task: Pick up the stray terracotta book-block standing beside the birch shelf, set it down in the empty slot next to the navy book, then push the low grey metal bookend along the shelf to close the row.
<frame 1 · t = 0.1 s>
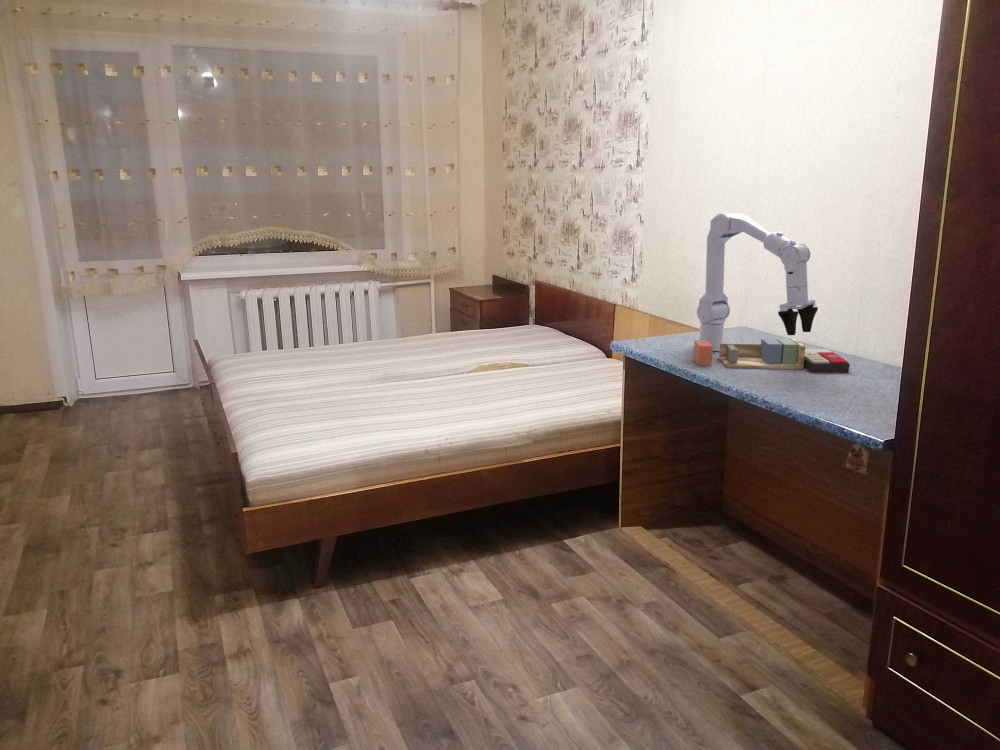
hand: (799, 333, 220), 11 cm above the table, tool pointing down, fingers open, 7 cm apart
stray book: (702, 362, 230), on the table
book b: (769, 360, 228), point 1 cm above the table, touching shelf
book a: (785, 360, 228), point 1 cm above the table, touching shelf
bookend: (731, 353, 229), point 3 cm above the table, slide at 0.0 cm
shelf: (759, 363, 228), on the table
calculator: (819, 368, 225), on the table
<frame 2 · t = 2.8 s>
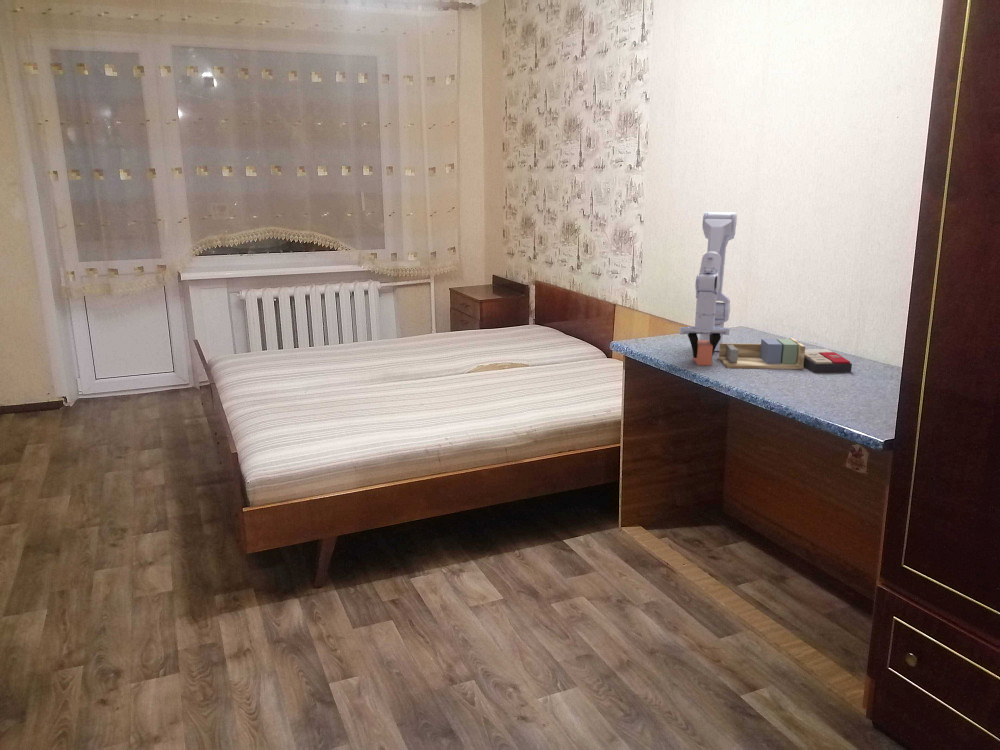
hand: (702, 357, 230), 1 cm above the table, tool pointing down, fingers closed on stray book, 4 cm apart
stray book: (702, 362, 230), on the table, touching gripper
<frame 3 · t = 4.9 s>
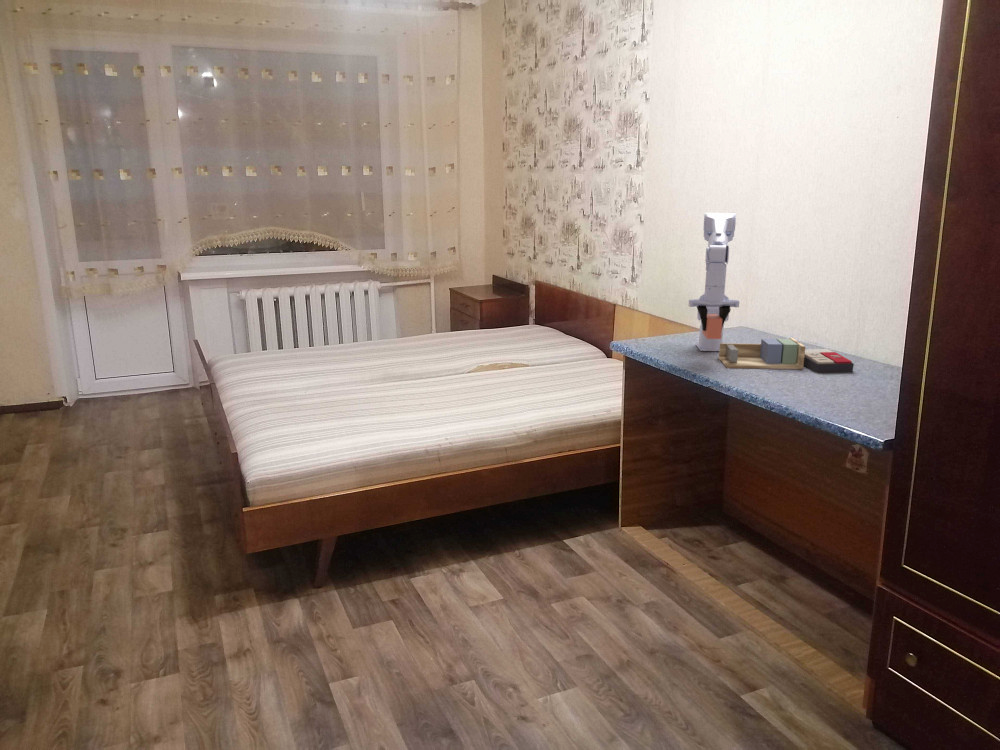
hand: (711, 330, 228), 10 cm above the table, tool pointing down, fingers closed on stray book, 4 cm apart
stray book: (711, 336, 228), point 8 cm above the table, touching gripper
when the fingers open (4 cm above the table, at t = 7.3 s): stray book drops 2 cm, resting on shelf.
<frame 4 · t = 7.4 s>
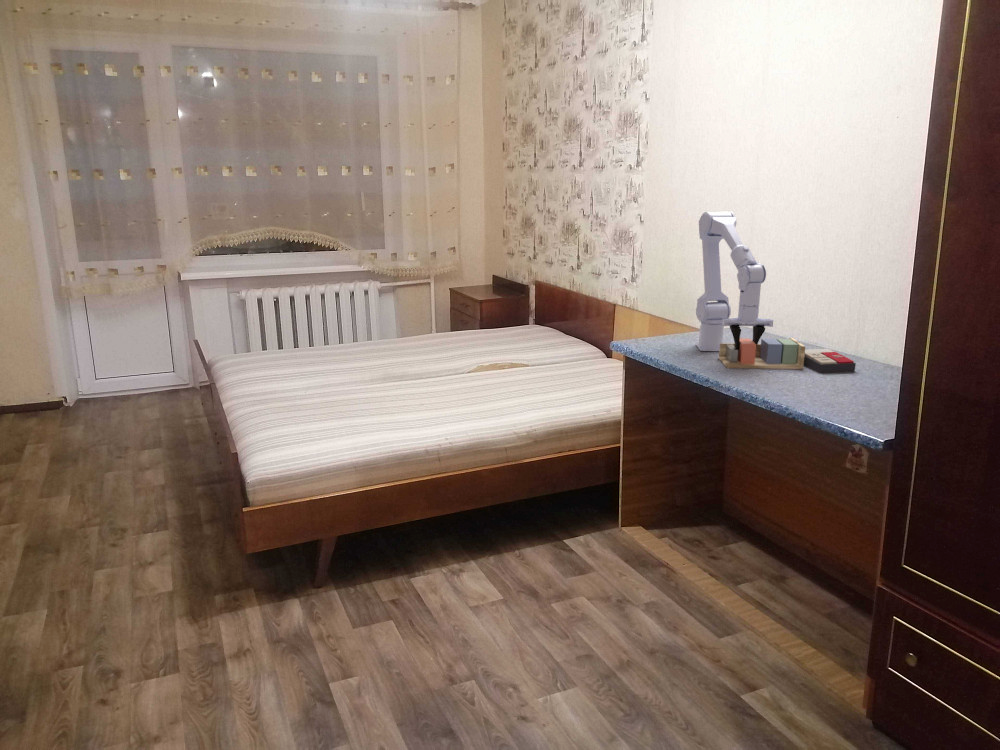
hand: (745, 349, 228), 4 cm above the table, tool pointing down, fingers open, 4 cm apart
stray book: (744, 360, 229), point 1 cm above the table, touching shelf
bookend: (731, 353, 229), point 3 cm above the table, slide at 0.0 cm, touching gripper
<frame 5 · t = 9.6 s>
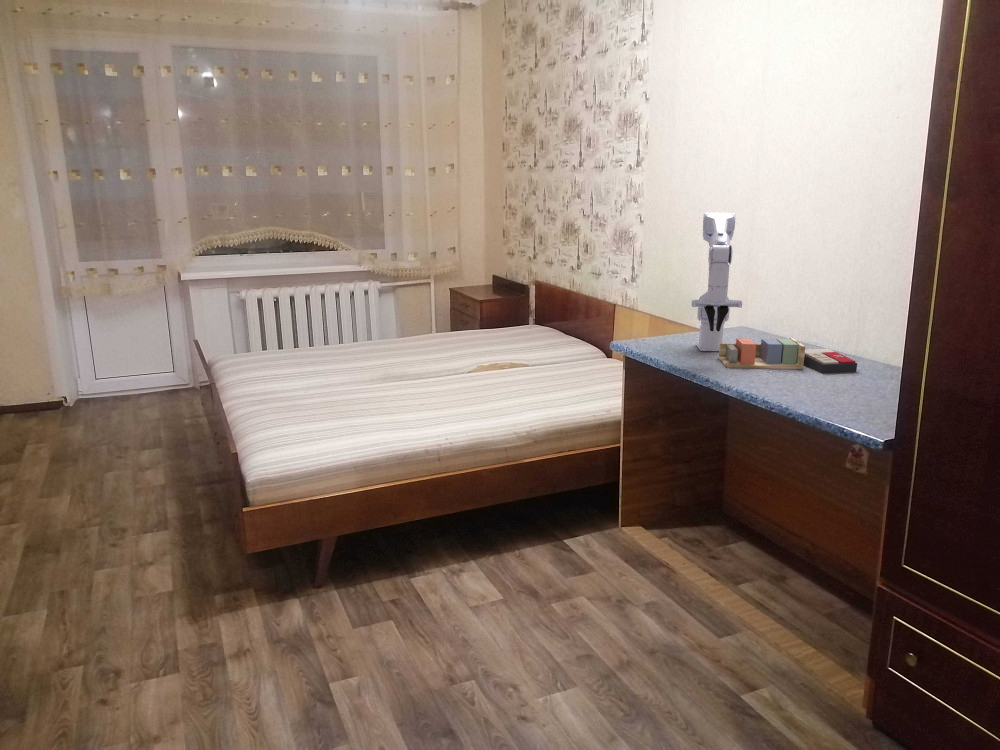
hand: (714, 330, 227), 10 cm above the table, tool pointing down, fingers closed
bookend: (731, 353, 229), point 3 cm above the table, slide at 0.0 cm
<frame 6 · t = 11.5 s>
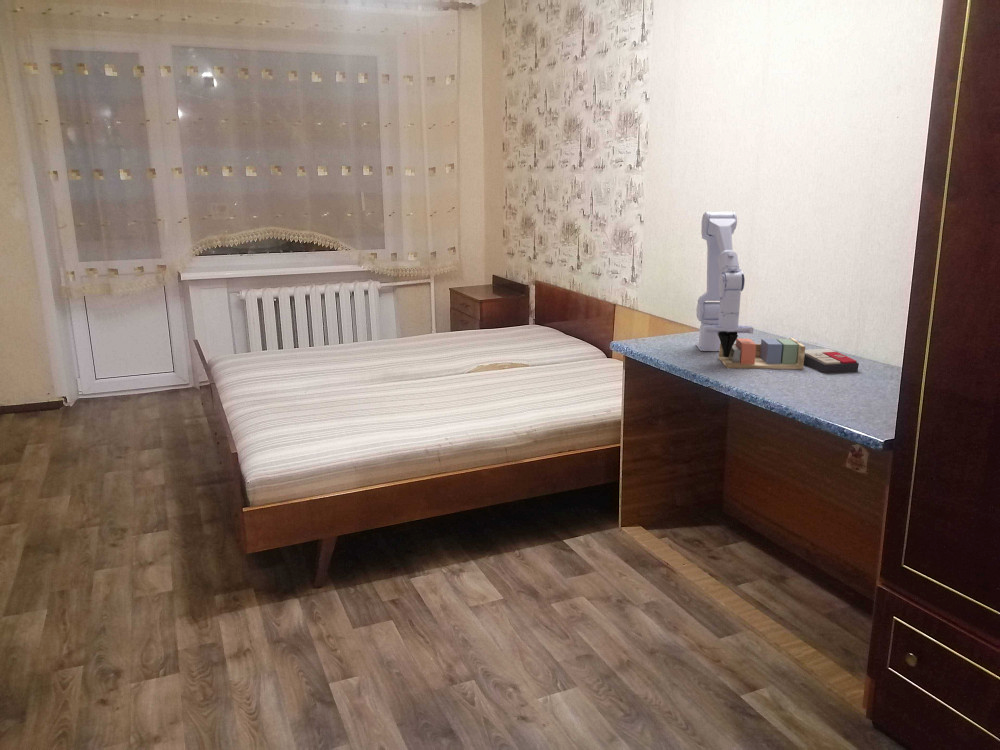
hand: (725, 356, 229), 2 cm above the table, tool pointing down, fingers closed
bookend: (734, 353, 229), point 3 cm above the table, slide at 0.8 cm, touching gripper
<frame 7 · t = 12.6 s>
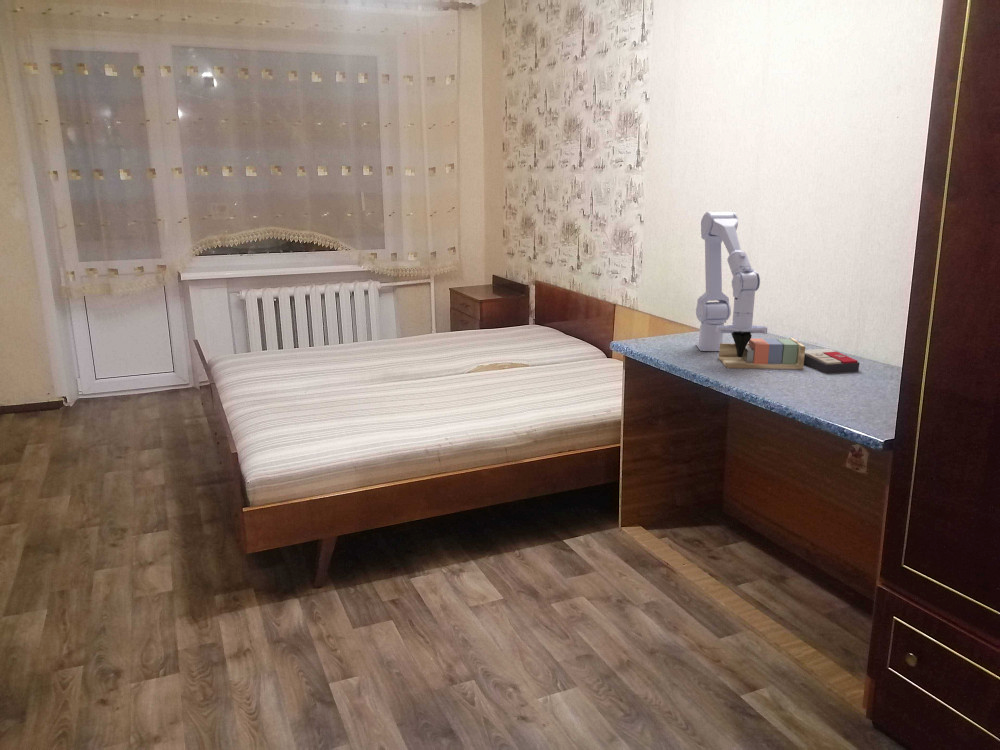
hand: (739, 356, 229), 2 cm above the table, tool pointing down, fingers closed
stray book: (757, 360, 228), point 1 cm above the table, touching book b, bookend
book b: (770, 360, 228), point 1 cm above the table, touching shelf, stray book
bookend: (747, 353, 228), point 3 cm above the table, slide at 4.8 cm, touching gripper, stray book
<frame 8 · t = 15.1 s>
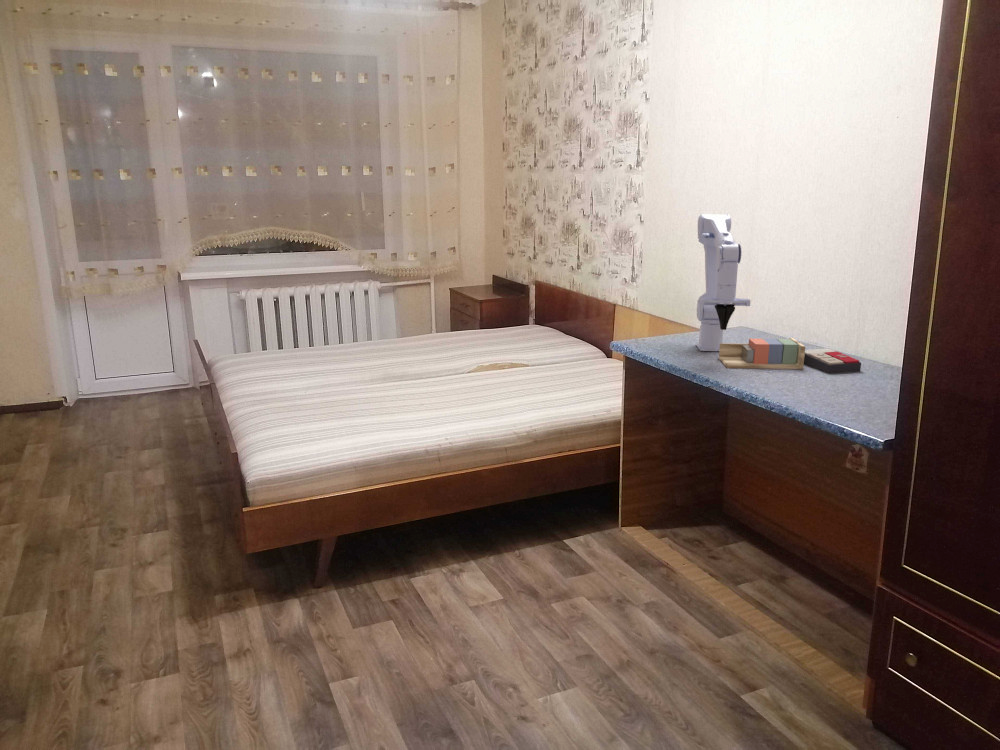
hand: (723, 329, 229), 10 cm above the table, tool pointing down, fingers closed
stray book: (757, 360, 228), point 1 cm above the table, touching book b, bookend, shelf
bookend: (747, 353, 228), point 3 cm above the table, slide at 4.8 cm, touching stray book
at the end: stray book inside the target area (1.8 cm from its centre), point 0.8 cm above the table; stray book tilted 0°; bookend slide at 4.8 cm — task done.
